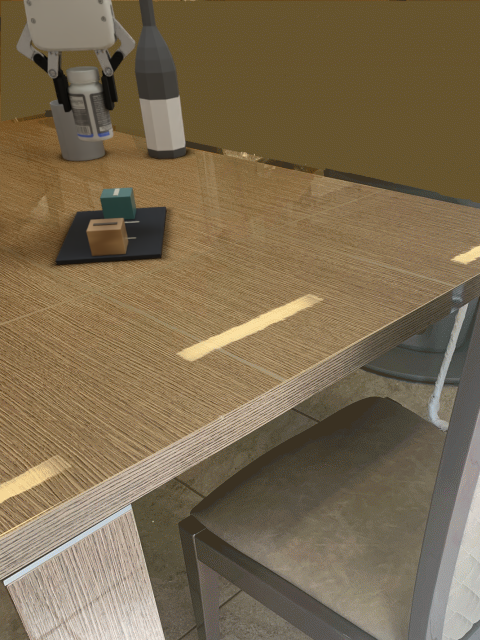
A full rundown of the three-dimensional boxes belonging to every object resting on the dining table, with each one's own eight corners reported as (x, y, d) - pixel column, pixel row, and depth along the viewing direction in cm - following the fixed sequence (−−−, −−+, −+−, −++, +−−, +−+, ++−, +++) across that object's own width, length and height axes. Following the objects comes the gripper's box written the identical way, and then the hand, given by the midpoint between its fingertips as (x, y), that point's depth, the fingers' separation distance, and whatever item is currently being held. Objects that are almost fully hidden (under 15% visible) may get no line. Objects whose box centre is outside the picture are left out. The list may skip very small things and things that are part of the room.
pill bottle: (111, 132, 90) (99, 64, 85) (116, 140, 87) (102, 69, 82) (76, 135, 89) (61, 66, 84) (79, 143, 85) (64, 72, 80)
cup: (95, 147, 136) (84, 95, 130) (112, 155, 131) (101, 101, 125) (56, 154, 132) (43, 101, 126) (72, 163, 127) (59, 107, 121)
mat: (56, 264, 87) (55, 260, 87) (77, 215, 103) (76, 211, 102) (161, 258, 89) (160, 253, 88) (166, 210, 104) (165, 206, 104)
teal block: (104, 220, 99) (99, 197, 97) (107, 211, 102) (103, 188, 100) (134, 219, 99) (130, 195, 97) (136, 209, 103) (132, 186, 101)
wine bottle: (177, 160, 128) (151, -24, 110) (140, 157, 130) (109, -24, 111) (194, 150, 134) (173, -26, 116) (159, 147, 136) (132, -26, 118)
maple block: (92, 256, 88) (86, 230, 86) (96, 243, 91) (90, 218, 89) (125, 254, 88) (120, 228, 86) (128, 241, 92) (123, 216, 90)
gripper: (131, -63, 78) (156, 101, 90) (-14, -61, 77) (29, 106, 88) (126, -63, 73) (153, 112, 84) (-31, -62, 71) (17, 118, 82)
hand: (89, 107), depth 85 cm, fingers closed on pill bottle, 4 cm apart
